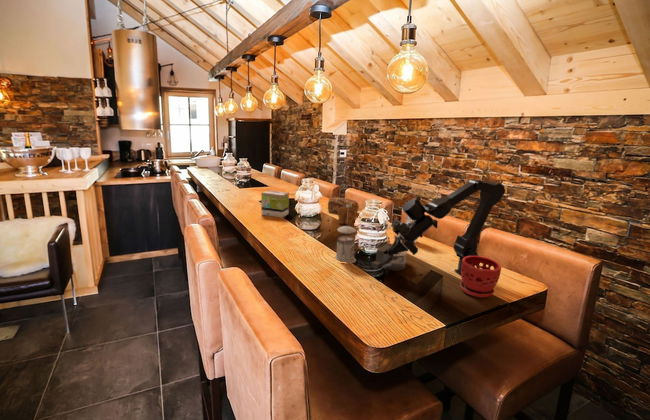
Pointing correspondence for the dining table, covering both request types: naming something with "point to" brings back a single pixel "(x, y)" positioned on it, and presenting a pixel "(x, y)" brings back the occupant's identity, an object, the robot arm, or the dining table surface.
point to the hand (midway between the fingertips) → (388, 254)
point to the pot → (391, 263)
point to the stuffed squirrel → (351, 214)
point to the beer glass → (410, 222)
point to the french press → (345, 244)
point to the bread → (338, 204)
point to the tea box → (275, 203)
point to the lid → (386, 253)
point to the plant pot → (479, 276)
